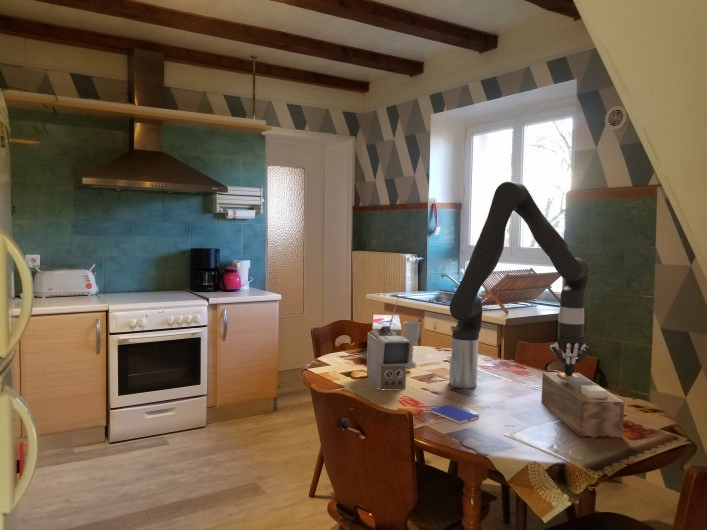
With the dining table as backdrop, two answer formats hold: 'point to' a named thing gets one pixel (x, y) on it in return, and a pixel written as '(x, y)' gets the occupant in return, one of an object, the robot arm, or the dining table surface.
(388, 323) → the soda pack
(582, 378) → the slate key
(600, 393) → the ivory key
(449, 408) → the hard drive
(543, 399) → the keypad console
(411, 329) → the chalice
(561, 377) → the terracotta key
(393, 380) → the portable television
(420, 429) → the dining table surface
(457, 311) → the robot arm
